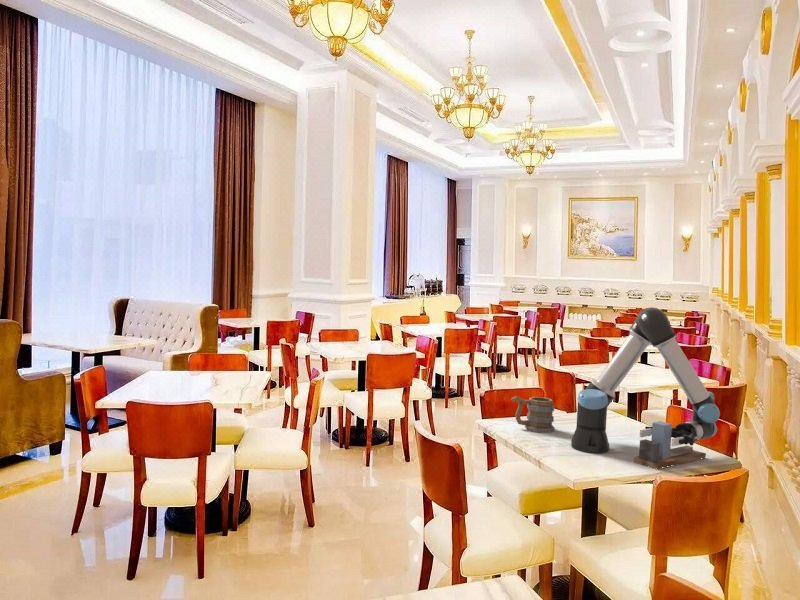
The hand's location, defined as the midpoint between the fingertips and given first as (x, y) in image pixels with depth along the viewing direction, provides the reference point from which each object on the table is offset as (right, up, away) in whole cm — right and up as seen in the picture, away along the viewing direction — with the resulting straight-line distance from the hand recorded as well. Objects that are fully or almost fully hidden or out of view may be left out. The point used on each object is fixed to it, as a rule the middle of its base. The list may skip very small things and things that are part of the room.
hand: (656, 437), depth 235 cm
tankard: (-37, -7, +48) cm, 61 cm away
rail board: (+8, -10, +6) cm, 14 cm away
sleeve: (+2, -8, +2) cm, 8 cm away
